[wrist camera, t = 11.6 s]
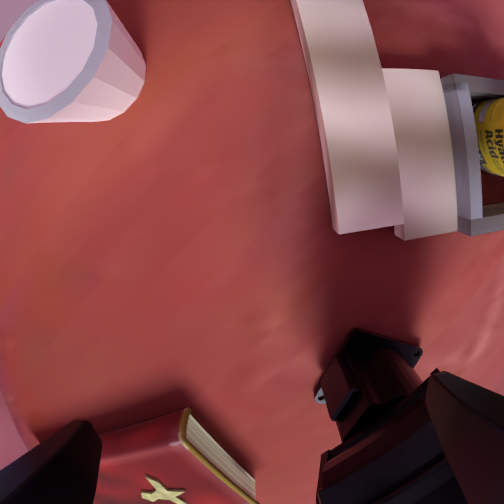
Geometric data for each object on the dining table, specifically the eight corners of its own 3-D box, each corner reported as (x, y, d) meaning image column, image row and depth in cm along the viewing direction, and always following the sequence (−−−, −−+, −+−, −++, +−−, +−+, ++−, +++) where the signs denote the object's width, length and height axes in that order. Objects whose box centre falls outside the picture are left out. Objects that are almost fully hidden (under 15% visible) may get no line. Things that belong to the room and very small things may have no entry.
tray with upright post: (533, 210, 18) (654, 254, 6) (334, 245, 19) (452, 375, 7) (490, -11, 13) (589, -58, 1) (278, -40, 14) (304, -186, 2)
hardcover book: (42, 442, 26) (28, 466, 22) (188, 401, 23) (179, 439, 19) (111, 501, 28) (103, 526, 24) (260, 476, 26) (261, 510, 22)
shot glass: (100, 17, 15) (47, -26, 8) (178, 56, 16) (143, 8, 9) (43, 104, 17) (-26, 91, 10) (114, 151, 18) (50, 150, 11)
